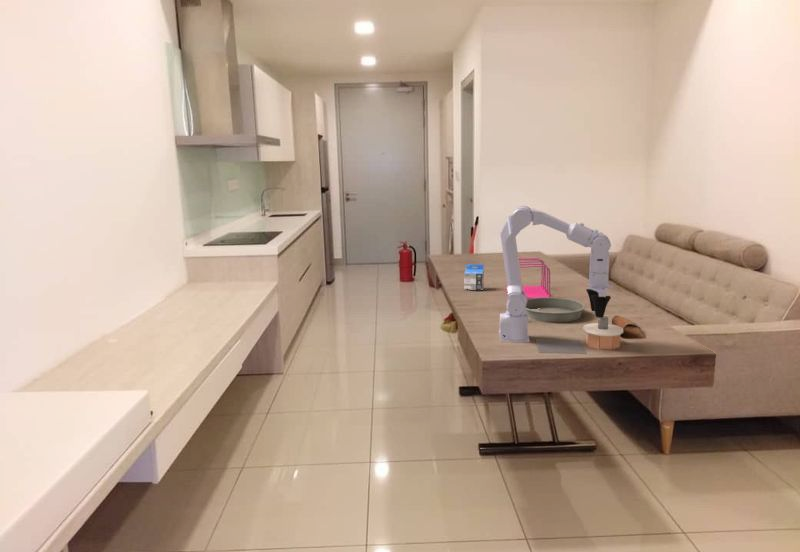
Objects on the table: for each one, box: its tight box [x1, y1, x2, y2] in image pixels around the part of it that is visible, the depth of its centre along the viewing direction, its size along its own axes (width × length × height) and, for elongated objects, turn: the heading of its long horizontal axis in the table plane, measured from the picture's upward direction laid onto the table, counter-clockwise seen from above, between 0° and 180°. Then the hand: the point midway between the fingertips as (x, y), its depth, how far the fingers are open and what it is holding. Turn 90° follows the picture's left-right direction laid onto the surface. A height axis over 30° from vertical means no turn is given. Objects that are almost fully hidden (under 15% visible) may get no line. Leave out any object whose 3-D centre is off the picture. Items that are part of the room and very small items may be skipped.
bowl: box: [585, 332, 621, 350], centre depth 176 cm, size 10×10×5 cm
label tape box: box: [463, 263, 485, 291], centre depth 263 cm, size 9×4×12 cm, turn 71°
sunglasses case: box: [611, 315, 646, 340], centre depth 191 cm, size 18×7×7 cm
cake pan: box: [526, 296, 587, 323], centre depth 215 cm, size 25×25×4 cm
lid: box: [582, 315, 623, 336], centre depth 175 cm, size 12×12×4 cm
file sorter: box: [505, 257, 552, 299], centre depth 249 cm, size 17×25×16 cm
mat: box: [534, 338, 587, 355], centre depth 176 cm, size 14×14×1 cm
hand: (597, 314), depth 177 cm, fingers open, 7 cm apart
